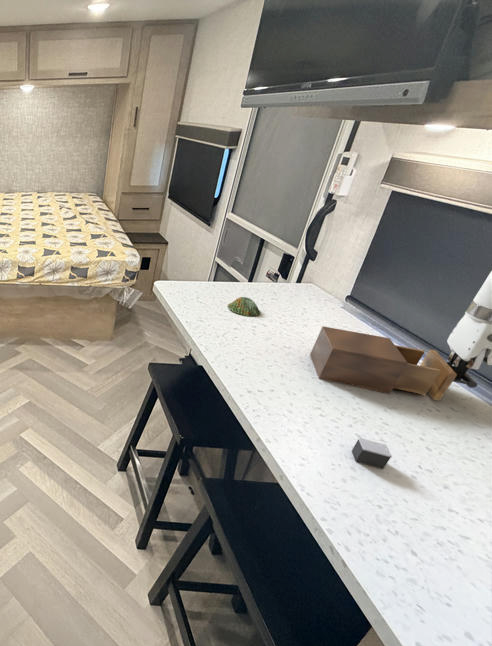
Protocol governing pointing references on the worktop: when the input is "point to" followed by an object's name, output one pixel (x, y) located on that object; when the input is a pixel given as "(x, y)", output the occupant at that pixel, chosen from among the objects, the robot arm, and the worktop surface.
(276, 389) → the worktop surface
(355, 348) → the cabinet
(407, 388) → the drawer
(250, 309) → the seashell
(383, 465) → the block
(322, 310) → the worktop surface
